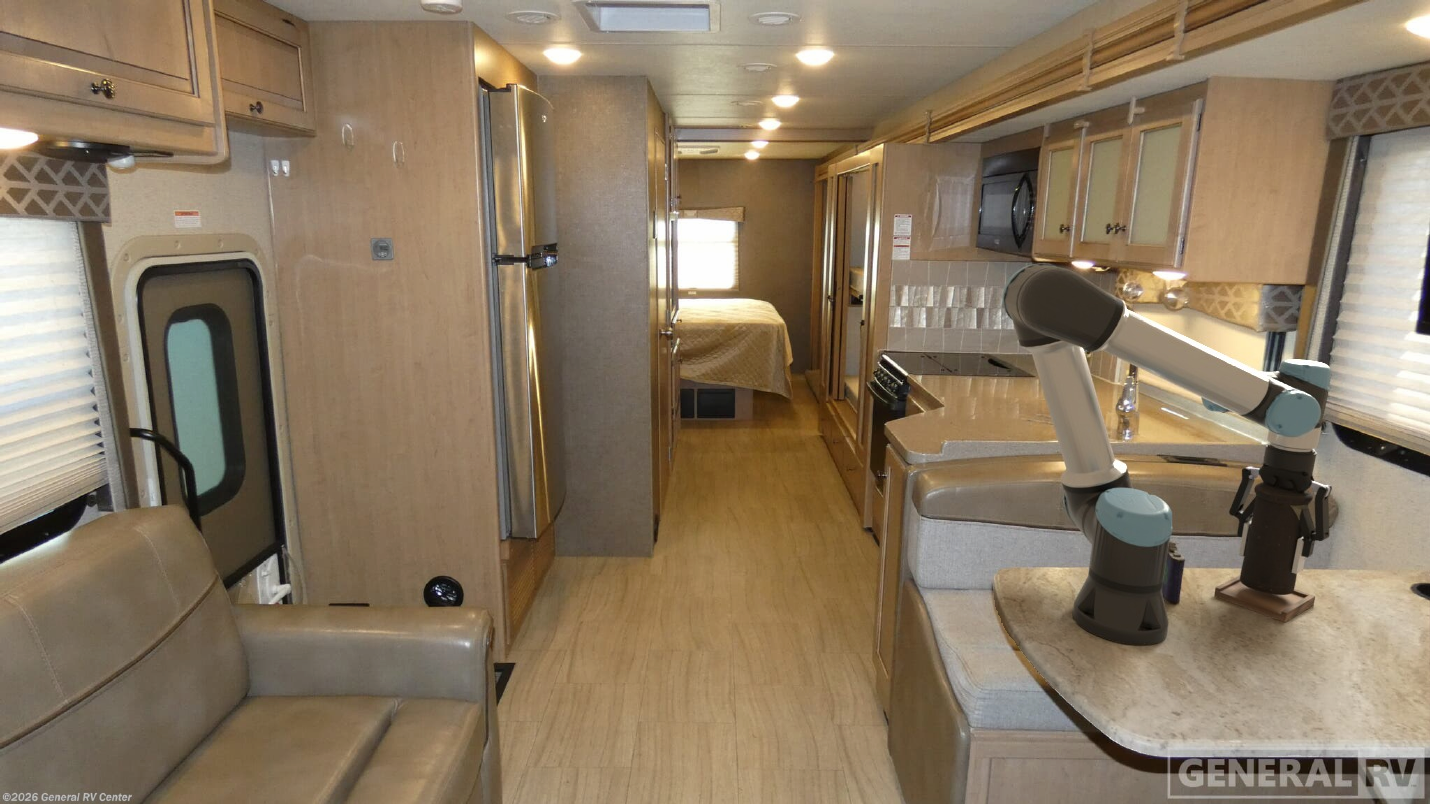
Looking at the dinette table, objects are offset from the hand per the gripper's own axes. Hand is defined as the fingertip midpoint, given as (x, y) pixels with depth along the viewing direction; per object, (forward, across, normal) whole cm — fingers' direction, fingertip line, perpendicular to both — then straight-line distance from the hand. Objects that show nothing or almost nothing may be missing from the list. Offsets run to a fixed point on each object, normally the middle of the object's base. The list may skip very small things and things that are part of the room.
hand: (1270, 562), depth 150 cm
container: (+5, 0, 0) cm, 5 cm away
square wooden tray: (+8, 0, 0) cm, 8 cm away
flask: (+8, +12, +13) cm, 19 cm away
